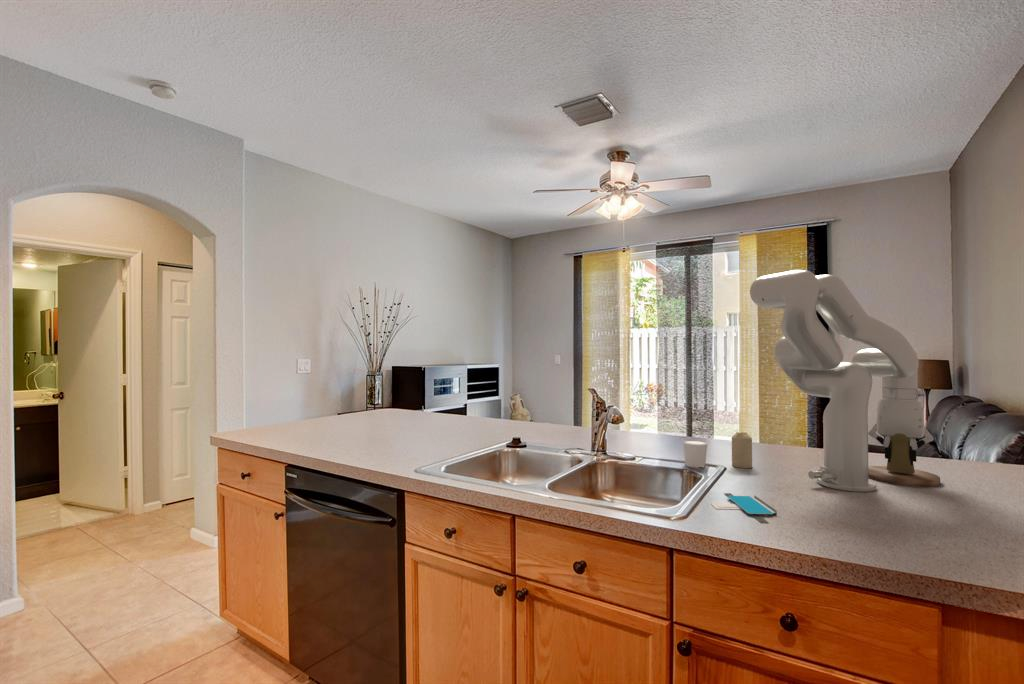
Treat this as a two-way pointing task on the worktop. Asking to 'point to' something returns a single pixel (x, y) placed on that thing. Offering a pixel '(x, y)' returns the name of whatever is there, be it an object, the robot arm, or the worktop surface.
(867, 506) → the worktop surface
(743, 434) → the candle
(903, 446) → the olive green pepper mill
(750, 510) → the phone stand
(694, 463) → the white cup
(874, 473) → the walnut board
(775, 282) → the robot arm
